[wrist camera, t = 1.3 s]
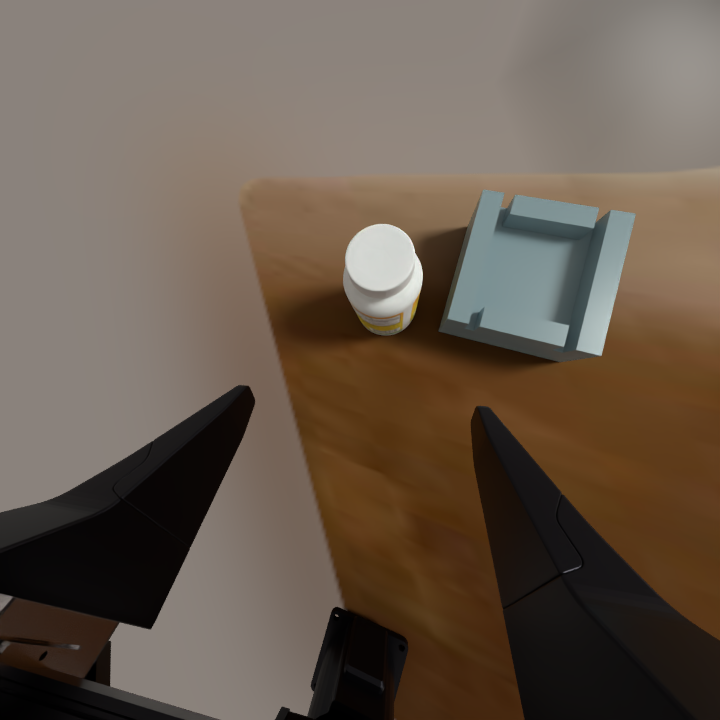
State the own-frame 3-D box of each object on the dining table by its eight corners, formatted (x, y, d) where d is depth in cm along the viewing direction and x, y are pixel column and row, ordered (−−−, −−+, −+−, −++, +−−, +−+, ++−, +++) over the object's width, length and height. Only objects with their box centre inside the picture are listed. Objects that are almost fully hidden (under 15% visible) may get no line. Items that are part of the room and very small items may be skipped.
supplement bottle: (382, 348, 24) (372, 323, 15) (346, 305, 25) (313, 256, 16) (429, 309, 24) (448, 259, 14) (390, 267, 25) (384, 193, 15)
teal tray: (559, 362, 22) (601, 355, 17) (438, 331, 23) (447, 318, 19) (588, 248, 22) (635, 213, 18) (467, 225, 24) (483, 189, 20)
